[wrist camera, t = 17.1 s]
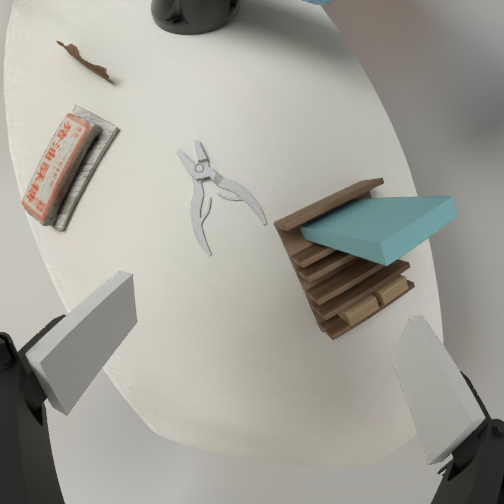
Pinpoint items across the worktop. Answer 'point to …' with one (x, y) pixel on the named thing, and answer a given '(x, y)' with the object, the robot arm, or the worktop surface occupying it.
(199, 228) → the pliers
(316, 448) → the worktop surface
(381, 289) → the offcut
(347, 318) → the offcut
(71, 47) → the wood plank
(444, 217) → the tall board
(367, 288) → the rack
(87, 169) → the packaged product
